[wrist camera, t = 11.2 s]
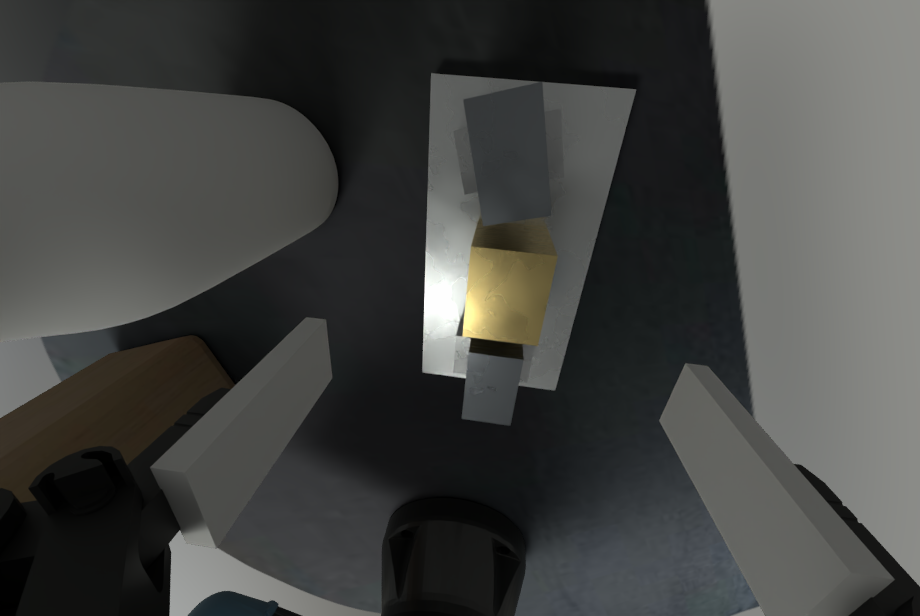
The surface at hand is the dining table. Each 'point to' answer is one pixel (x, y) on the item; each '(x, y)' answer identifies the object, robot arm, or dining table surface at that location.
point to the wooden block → (107, 408)
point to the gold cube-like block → (509, 282)
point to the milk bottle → (144, 198)
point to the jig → (513, 216)
